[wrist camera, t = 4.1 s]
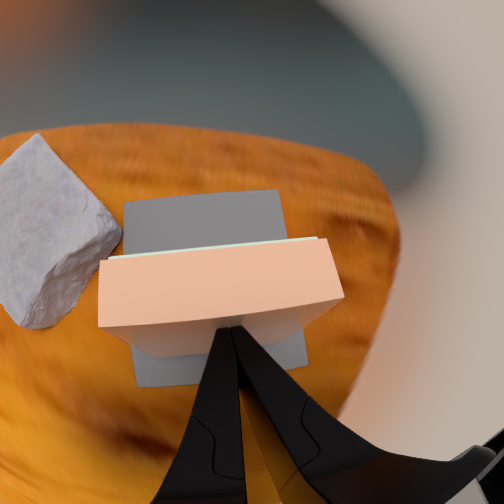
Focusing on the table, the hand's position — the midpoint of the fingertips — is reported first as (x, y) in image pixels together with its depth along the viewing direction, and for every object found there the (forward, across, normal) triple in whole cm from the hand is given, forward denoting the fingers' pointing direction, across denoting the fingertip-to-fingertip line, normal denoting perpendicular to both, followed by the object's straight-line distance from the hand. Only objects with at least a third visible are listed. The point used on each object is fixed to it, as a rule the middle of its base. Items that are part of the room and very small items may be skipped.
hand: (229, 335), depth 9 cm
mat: (+7, 0, +3) cm, 7 cm away
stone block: (+10, +12, 0) cm, 16 cm away
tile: (+4, 0, +4) cm, 6 cm away
